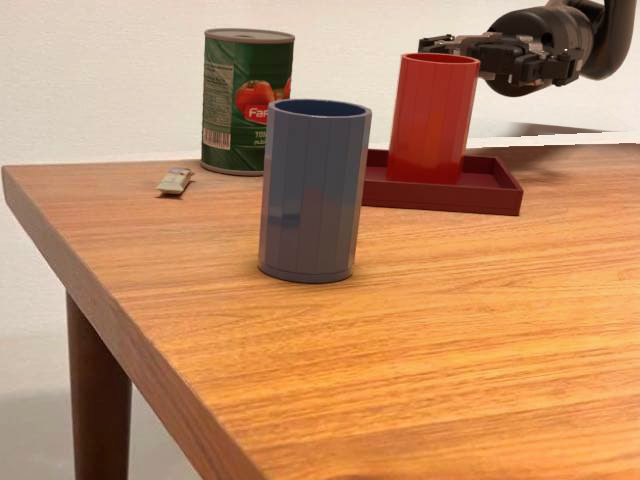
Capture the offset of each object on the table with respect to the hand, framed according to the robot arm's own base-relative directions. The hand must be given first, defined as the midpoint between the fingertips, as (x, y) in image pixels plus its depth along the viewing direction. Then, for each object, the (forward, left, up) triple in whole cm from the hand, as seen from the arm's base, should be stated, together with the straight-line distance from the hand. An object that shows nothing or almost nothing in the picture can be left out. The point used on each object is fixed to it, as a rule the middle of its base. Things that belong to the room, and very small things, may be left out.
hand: (469, 67), depth 84 cm
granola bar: (+24, +10, -9) cm, 28 cm away
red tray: (+3, +5, -9) cm, 11 cm away
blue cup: (+13, +29, -9) cm, 33 cm away
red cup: (+3, +5, -9) cm, 11 cm away
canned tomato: (+19, 0, -10) cm, 21 cm away
